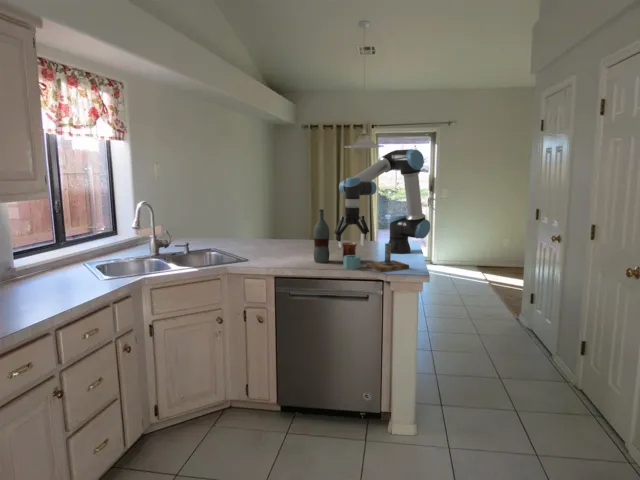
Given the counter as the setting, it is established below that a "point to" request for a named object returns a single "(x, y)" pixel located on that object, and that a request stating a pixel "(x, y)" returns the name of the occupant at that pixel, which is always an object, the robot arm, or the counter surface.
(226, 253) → the counter surface
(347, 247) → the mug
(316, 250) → the bottle
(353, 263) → the ring
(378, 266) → the post block
